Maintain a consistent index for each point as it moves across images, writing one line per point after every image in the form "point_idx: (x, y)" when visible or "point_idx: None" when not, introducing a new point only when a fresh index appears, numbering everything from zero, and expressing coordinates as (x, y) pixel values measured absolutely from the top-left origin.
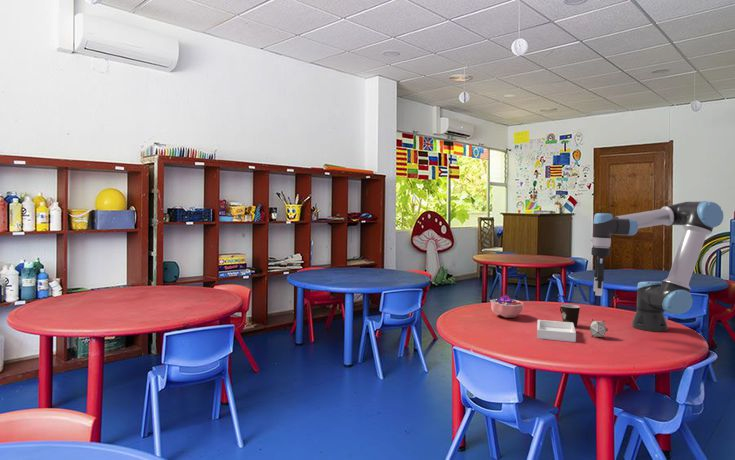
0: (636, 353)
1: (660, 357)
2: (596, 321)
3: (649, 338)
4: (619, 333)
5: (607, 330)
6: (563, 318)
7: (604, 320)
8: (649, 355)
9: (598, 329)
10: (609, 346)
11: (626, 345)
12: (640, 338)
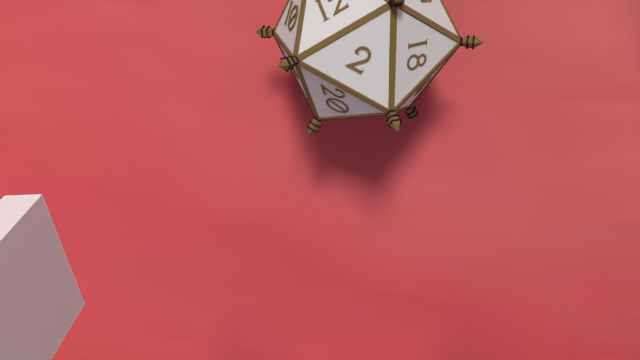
0: None
1: None
2: (368, 42)
3: (504, 352)
4: (602, 189)
5: (409, 117)
6: None
7: (396, 130)
8: None
9: (280, 44)
10: (105, 100)
11: (211, 208)
12: (478, 305)
